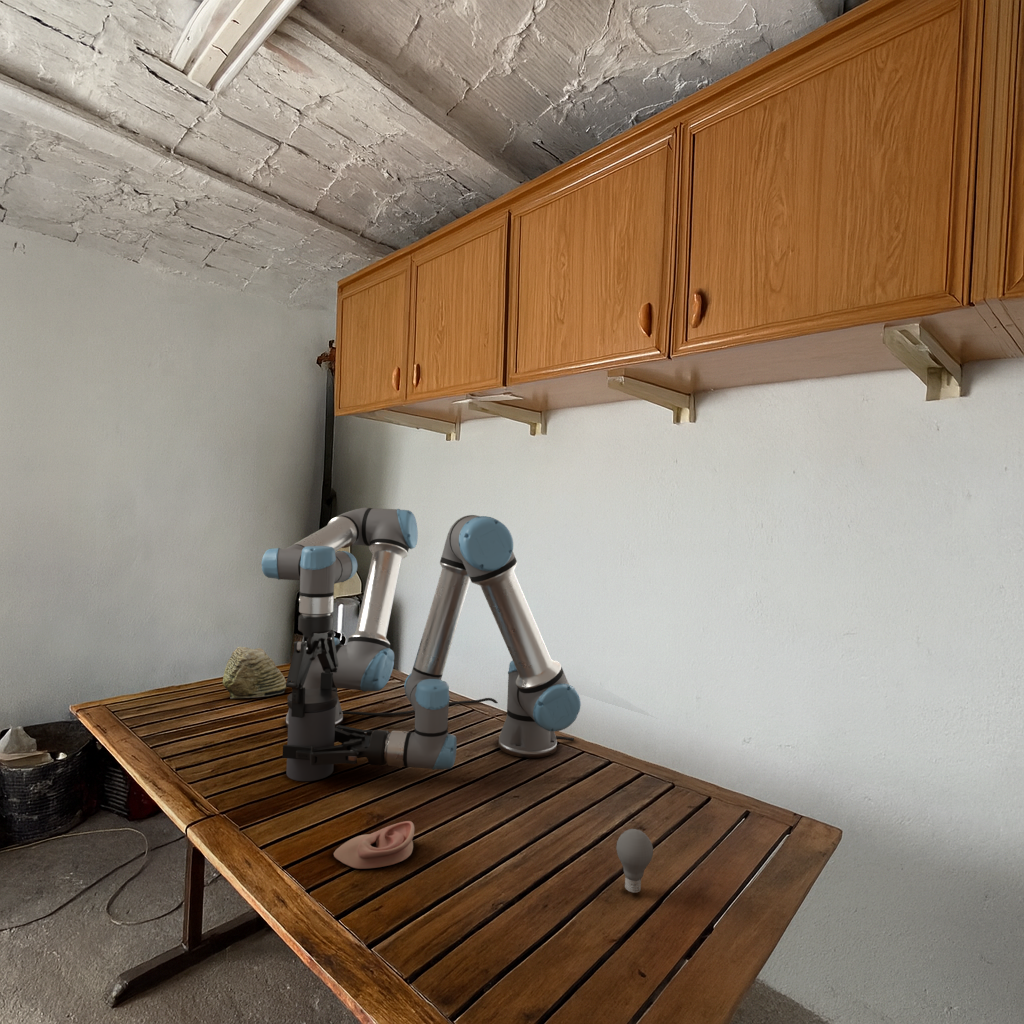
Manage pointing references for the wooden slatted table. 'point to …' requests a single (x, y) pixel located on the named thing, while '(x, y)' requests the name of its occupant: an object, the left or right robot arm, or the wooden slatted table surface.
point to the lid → (317, 699)
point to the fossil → (252, 674)
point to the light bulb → (634, 857)
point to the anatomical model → (378, 847)
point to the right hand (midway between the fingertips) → (293, 741)
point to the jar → (310, 742)
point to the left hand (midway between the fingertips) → (312, 708)
